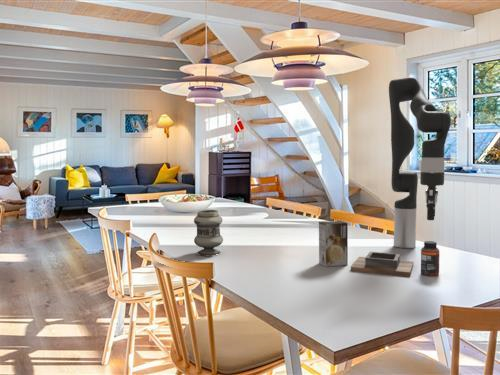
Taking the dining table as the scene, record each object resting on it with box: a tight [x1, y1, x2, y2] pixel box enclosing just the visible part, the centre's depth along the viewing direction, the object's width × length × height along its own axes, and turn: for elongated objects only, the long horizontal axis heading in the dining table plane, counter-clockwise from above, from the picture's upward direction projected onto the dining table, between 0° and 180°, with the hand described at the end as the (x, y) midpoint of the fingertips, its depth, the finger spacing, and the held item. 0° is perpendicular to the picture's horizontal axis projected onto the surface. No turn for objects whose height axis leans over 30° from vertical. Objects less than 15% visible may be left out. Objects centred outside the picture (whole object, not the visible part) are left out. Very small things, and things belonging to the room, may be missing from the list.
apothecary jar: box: [193, 209, 224, 256], centre depth 191 cm, size 12×12×18 cm
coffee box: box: [318, 220, 349, 268], centre depth 172 cm, size 9×6×16 cm
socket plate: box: [350, 251, 414, 277], centre depth 166 cm, size 16×20×4 cm
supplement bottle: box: [420, 240, 440, 277], centre depth 158 cm, size 6×6×11 cm
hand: (431, 218), depth 157 cm, fingers open, 8 cm apart
